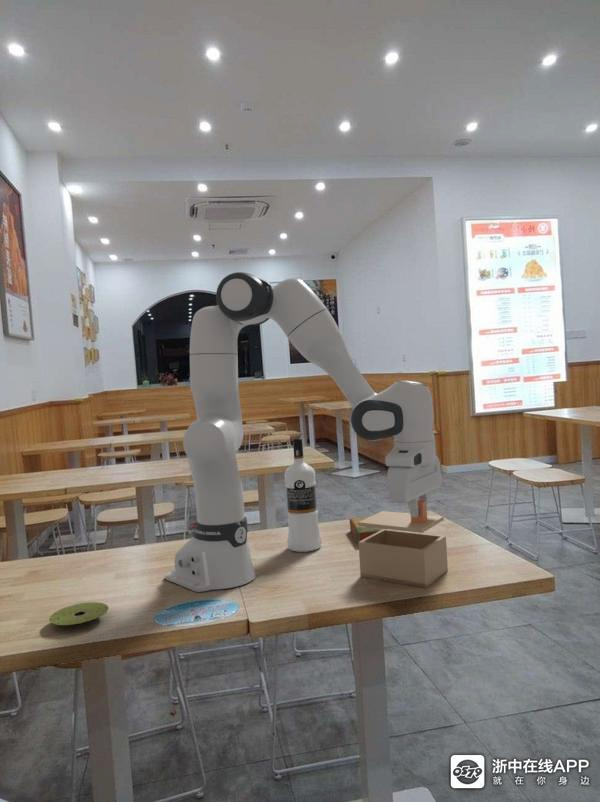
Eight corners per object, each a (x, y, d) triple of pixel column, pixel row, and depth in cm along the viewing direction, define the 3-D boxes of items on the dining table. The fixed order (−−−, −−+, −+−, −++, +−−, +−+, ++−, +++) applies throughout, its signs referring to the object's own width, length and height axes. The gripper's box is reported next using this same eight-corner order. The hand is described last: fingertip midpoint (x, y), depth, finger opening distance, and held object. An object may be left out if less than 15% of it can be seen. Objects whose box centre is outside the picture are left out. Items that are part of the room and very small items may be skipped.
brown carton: (360, 576, 134) (358, 542, 133) (385, 561, 143) (383, 528, 143) (426, 587, 124) (424, 550, 124) (447, 570, 134) (445, 536, 134)
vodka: (324, 542, 162) (317, 435, 161) (318, 553, 153) (311, 439, 152) (291, 543, 164) (284, 436, 163) (284, 553, 155) (276, 440, 154)
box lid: (358, 525, 133) (357, 502, 133) (382, 514, 143) (381, 492, 142) (422, 533, 124) (420, 508, 124) (443, 520, 133) (442, 497, 133)
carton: (377, 529, 174) (376, 515, 173) (390, 545, 158) (389, 529, 157) (349, 532, 173) (349, 517, 173) (359, 547, 157) (358, 532, 157)
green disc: (43, 638, 112) (42, 628, 112) (56, 615, 123) (56, 606, 123) (105, 629, 114) (104, 619, 114) (112, 607, 125) (111, 598, 125)
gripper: (421, 446, 140) (424, 503, 141) (381, 459, 124) (384, 524, 124) (446, 447, 137) (449, 505, 137) (408, 460, 120) (412, 527, 121)
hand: (418, 514), depth 131 cm, fingers closed on box lid
